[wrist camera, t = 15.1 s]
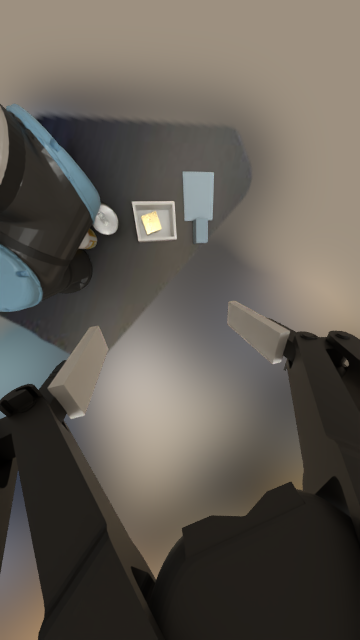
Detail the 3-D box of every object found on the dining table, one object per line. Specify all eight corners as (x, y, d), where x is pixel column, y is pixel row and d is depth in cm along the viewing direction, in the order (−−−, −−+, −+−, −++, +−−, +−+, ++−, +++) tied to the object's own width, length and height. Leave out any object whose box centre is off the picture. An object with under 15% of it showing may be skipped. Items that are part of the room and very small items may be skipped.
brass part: (147, 235, 41) (147, 234, 38) (141, 219, 39) (140, 216, 36) (160, 230, 41) (161, 228, 38) (154, 214, 39) (155, 210, 36)
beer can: (86, 209, 35) (81, 212, 27) (104, 197, 35) (106, 197, 27) (102, 231, 39) (103, 240, 31) (119, 221, 39) (124, 227, 31)
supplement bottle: (73, 223, 37) (52, 215, 28) (96, 228, 38) (83, 222, 30) (76, 247, 39) (57, 245, 31) (98, 250, 41) (85, 250, 32)
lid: (182, 173, 38) (185, 165, 35) (212, 173, 39) (218, 166, 36) (185, 244, 45) (188, 243, 42) (210, 242, 47) (215, 241, 43)
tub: (139, 242, 42) (138, 240, 37) (133, 208, 38) (131, 201, 33) (172, 240, 44) (176, 238, 38) (170, 207, 40) (174, 201, 35)
